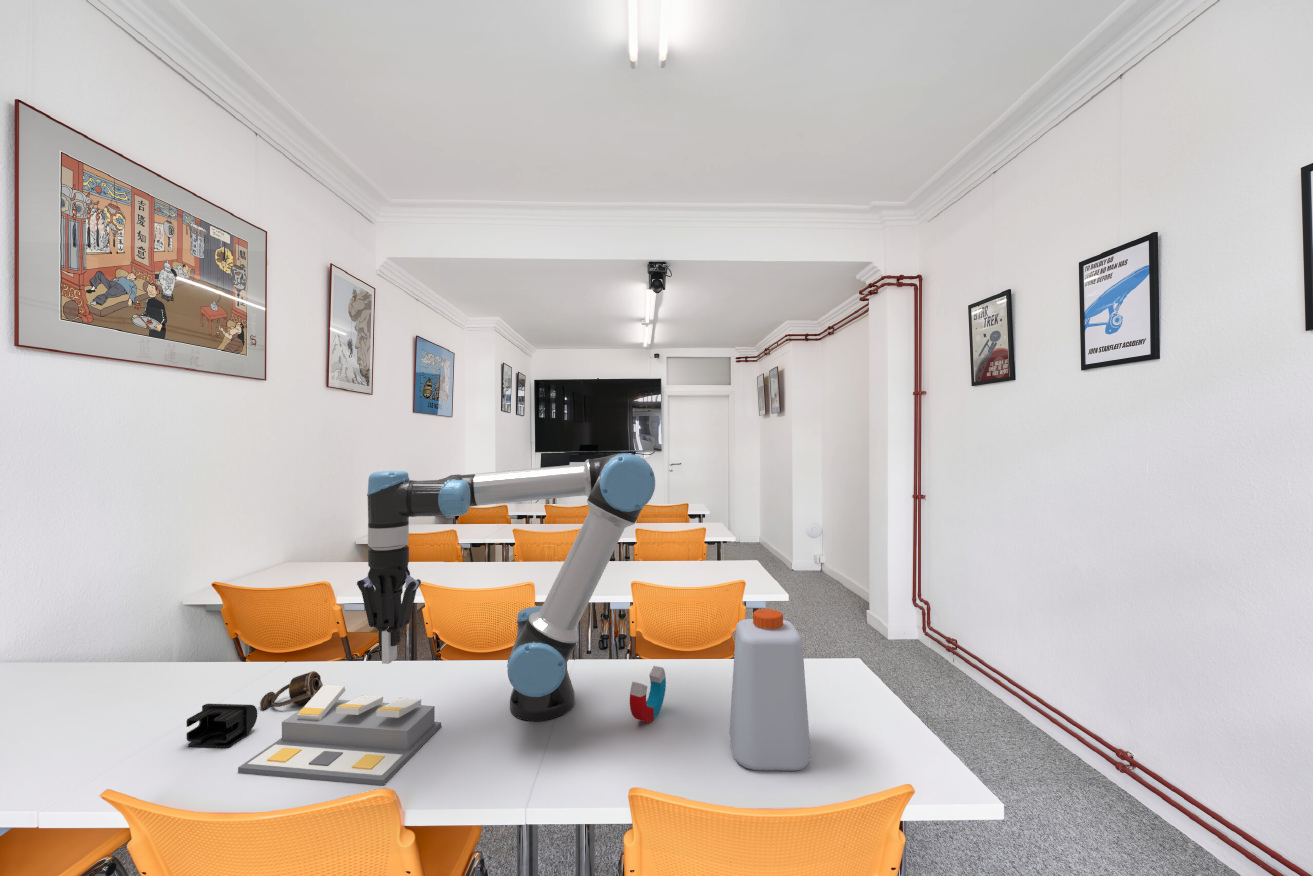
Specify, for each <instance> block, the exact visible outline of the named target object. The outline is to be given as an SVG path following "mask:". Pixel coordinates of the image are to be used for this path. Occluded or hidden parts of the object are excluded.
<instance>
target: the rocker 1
mask: <svg viewBox="0 0 1313 876" xmlns="http://www.w3.org/2000/svg"><path fill="white" fill-rule="evenodd" d="M345 692H346V688H345V685H331V684H328V685H327V684H323V686H322V687H321V688H320V690H319V691H318V692H317V693H316V694H315V695H314V696H313V697H312V698H311V700H310V701H307V703H306V704H305V705H304V706H303V707H302V708H301V709H300V711H299V710H298V711H299V712H298V711H297V712H298V714H297V717H298V719H306V720H321V719H322V718H323V717H324V715H325V714H326V713H327V712H328V711H329V709H330V708H331V707H332V706H333V705H334V704H335V702H336V701H337V700H340V698H341V696H342V695H343V694H344V693H345Z"/></svg>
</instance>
